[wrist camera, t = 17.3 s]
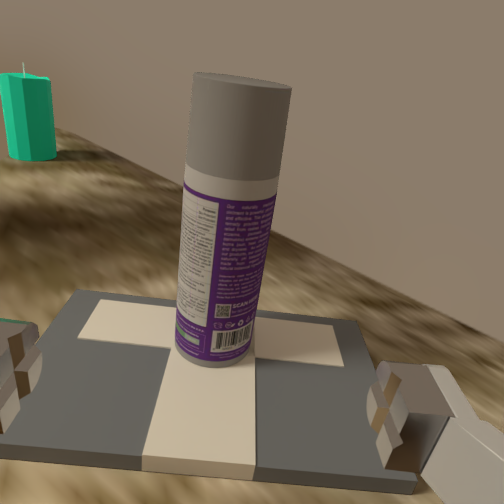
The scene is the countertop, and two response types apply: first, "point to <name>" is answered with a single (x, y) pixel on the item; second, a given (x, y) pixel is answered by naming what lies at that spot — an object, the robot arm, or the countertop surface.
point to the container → (227, 213)
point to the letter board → (202, 399)
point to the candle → (28, 116)
